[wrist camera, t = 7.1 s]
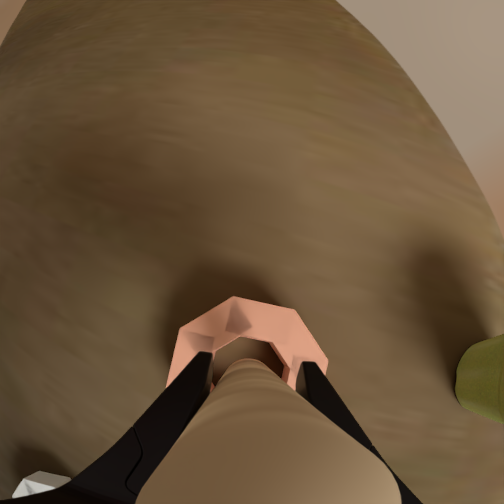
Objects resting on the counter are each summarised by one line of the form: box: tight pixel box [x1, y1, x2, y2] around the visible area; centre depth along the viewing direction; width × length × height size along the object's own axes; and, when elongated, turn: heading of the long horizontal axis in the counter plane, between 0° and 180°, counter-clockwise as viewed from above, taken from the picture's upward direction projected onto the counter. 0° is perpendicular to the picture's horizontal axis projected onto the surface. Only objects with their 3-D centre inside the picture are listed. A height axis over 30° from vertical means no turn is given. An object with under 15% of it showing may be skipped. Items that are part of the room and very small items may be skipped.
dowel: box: [135, 358, 401, 504], centre depth 9 cm, size 3×3×14 cm
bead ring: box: [166, 296, 328, 393], centre depth 19 cm, size 9×9×3 cm
